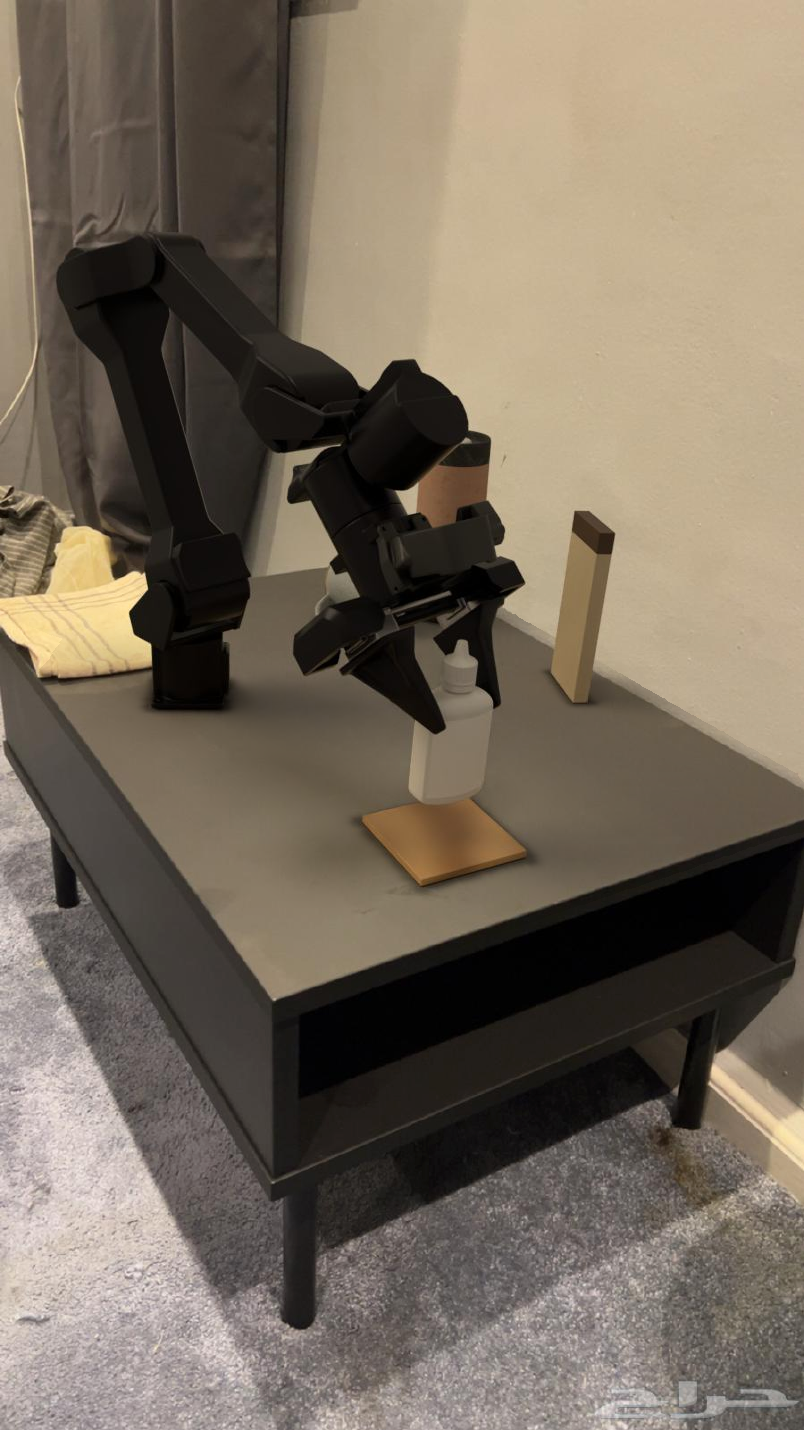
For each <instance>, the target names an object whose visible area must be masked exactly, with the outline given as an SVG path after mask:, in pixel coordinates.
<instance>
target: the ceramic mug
mask: <svg viewBox="0 0 804 1430" xmlns="http://www.w3.org/2000/svg"><path fill="white" fill-rule="evenodd" d="M337 555H338V553H337V554H336V555H335V556H334V557H333V558H332V559H331V561H332V560H333V559H334V558H335V557H336V556H337ZM323 585H324V593H325V595H324V596H323V597H322V598H321V599H319V601H318V602H317V604H316V605H315V608H314V614H315V617H316V616H317V615H318V614H319V613H320V612H321V611H323V610H324V609H325V608H326V607H327V606H330V605H333V604H337V603H340V602H344V601H347V600H351V599H354V598H358V597H360V596H359V594H358V592H357V590H356V588H355V586H354V584H353V582H352V580H351V578H350V577H349V575H348V573H347V572H345V573H341V574H338V575H335V573H334V571H333V569H332V567H331V565H330V563H328V566H327V568H326V570H325V574H324V581H323ZM400 615H401V616H402V615H404V613H403V614H399V615H397V617H399V616H400Z"/></svg>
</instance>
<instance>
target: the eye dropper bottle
mask: <svg viewBox="0 0 804 1430" xmlns="http://www.w3.org/2000/svg"><path fill="white" fill-rule="evenodd" d="M477 666H478V662H477V660H476V659H475V658H474V657H472V656H470V655H469V652H468V642H467V641H466V640H458V641H457V644H456V648H455V651H454V653H452V654H448V655H446V656H445V655H444V657H443V658H442V665H441V675H440V683H439V686H437V687H435V688H434V689H431V691H432V693H433V695H434V697H435V700H436V702H437V704H438V706H439V708H440V711H441V713H442V716H443V719H444V722H445V724H446V729H445V730H444V731H442V732H441V733H439V734H436V735H435V734H433V733H431V732H430V731H429V730H427V729H426V728H425V727H424V726H422V725H421V724H420V723H418V722H417V721H416V720H415V719H414V727H413V734H412V735H413V736H412V745H411V746H412V747H411V757H410V767H409V777H408V791H409V793H410V794H411V795H412V796H413V797H414V798H415V799H417V800H418V801H419V802H422V803H423V804H427V805H440V804H449V803H454V802H458V801H462V800H465V799H467V798H469V799H470V798H471V797H473V796H475V795H476V794H478V793H479V792H480V791H481V790H482V788H483V786H484V783H485V777H486V776H485V775H486V768H487V760H488V753H489V752H488V751H489V746H490V737H491V730H492V729H491V728H492V722H493V712H494V709H493V700H492V698H491V697H490V695H489V694H488V693H487V692H485V691H484V690H483V689H481V688H479V687H477V686H475V683H476V675H477Z"/></svg>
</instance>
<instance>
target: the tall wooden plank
mask: <svg viewBox="0 0 804 1430" xmlns="http://www.w3.org/2000/svg"><path fill="white" fill-rule="evenodd" d="M572 518H573V519H572V524H571V525H572V526H571V531H570V532H571V533H570V538H569V546H568V552H567V559H566V565H565V572H564V580H563V587H562V593H561V600H560V606H559V615H558V621H557V628H556V635H555V640H554V648H553V654H552V660H551V661H552V662H551V667H550V673H551V675H552V676H553V678H554V679H555V680H556V682H557V683H558V684H559V686H560V688H562V690H563V691H564V692H565V694H566V695H567V698H568V699H570V701H571V703H573V704H575V703H578V704H579V703H580V704H581V703H588V699H589V695H590V688H591V683H592V677H593V670H594V665H595V664H594V663H595V657H596V652H597V645H598V641H599V634H600V628H601V623H602V618H603V617H602V615H603V611H604V604H605V598H606V593H607V592H606V591H607V586H608V580H609V574H610V568H611V563H612V555H613V551H614V550H613V549H614V545H615V538H616V532H615V531H614V530H612V528H610V527H609V526H608V525H606V524H605V522H603V521H602V520H601V519H599V518H598V517H597V516H596V515H595V514H593V512H591V511H590V510H574V511H573V517H572Z"/></svg>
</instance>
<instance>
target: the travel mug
mask: <svg viewBox="0 0 804 1430" xmlns="http://www.w3.org/2000/svg"><path fill="white" fill-rule="evenodd" d="M491 449H492V438H491V436H490V435H489V434H486V433H484V432H480V431H476V430H471V429H470V430H468V433H467V436H466V438H465V439H464V440H463V442H462V443H461V444H459V445H458V446H457V447H456V448H455V449H454V450H453V451H452V452H451V453H450V454H449V455H447V456H446V457H445V458H444V459H443V460H442V461H441V462H440V463H439V464H438V465H437V466H435V467H434V468H433V469H432V470H431V471H430V472H429V473H428V474H427V475H426V476H425V477H423V478H422V479H421V480H420V481H419V482H418V483H417V497H416V510H415V513H418V512H421V514H422V515H425V516H426V517H427V519H428V520H429V522H430V524H431V526H432V527H433V528H434V527H438V526H443V525H447V524H451V523H455V521H456V514H457V509H458V508H459V507H462V506H467V505H471V504H474V503H478V502H483V501H487V497H488V487H489V486H488V485H489V475H490V464H491V463H490V460H491V451H492V450H491ZM461 572H463V571H461ZM461 572H460V573H461ZM460 573H458V574H457V575H456V576H458V575H459V574H460ZM456 576H455V577H456ZM455 577H453V578H452V579H454V578H455ZM452 579H450V580H447V581H445V582H444V583H443V586H445V585H446V584H447V583H448V582H450V581H451V580H452ZM426 607H427V608H428V606H423V607H422V608H426ZM420 608H421V607H420ZM422 608H421V609H422ZM428 621H430V622H435V623H436V622H437V623H439V622H438V620H437V618H436V617H435V618H432V619H429V620H428Z"/></svg>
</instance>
